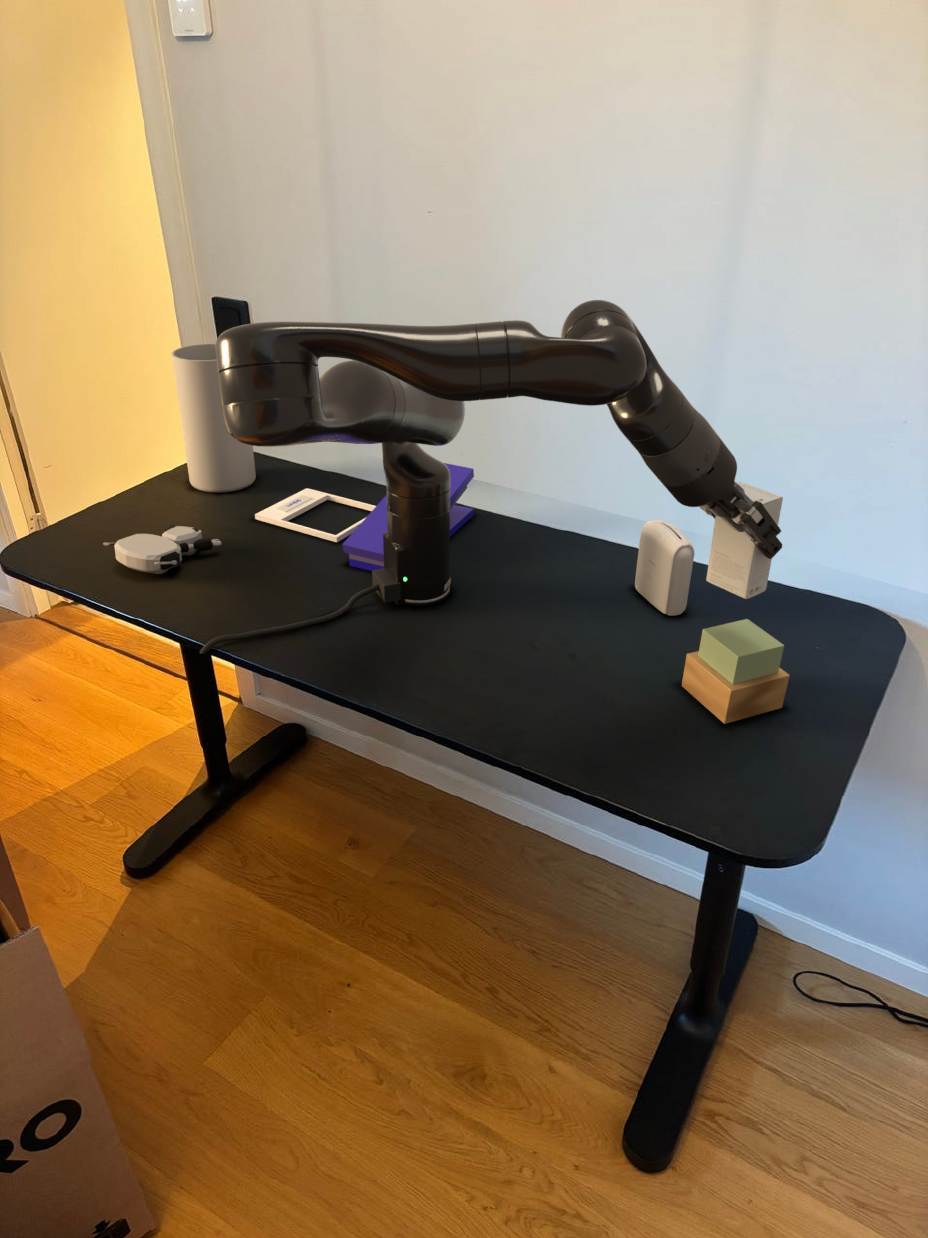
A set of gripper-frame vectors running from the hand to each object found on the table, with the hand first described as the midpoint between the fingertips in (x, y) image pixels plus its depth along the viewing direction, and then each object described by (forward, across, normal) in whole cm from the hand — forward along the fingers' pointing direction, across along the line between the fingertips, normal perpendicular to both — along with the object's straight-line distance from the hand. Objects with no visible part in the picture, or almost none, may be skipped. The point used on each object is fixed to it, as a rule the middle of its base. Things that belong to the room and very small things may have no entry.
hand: (754, 538), depth 106 cm
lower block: (+16, +1, -15) cm, 22 cm away
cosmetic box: (+3, 0, -6) cm, 6 cm away
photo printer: (+20, -24, -11) cm, 33 cm away
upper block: (+13, +1, -12) cm, 17 cm away
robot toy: (-27, -65, -59) cm, 92 cm away
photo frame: (-7, -73, -39) cm, 83 cm away
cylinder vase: (-16, -96, -49) cm, 109 cm away
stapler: (+1, -58, -31) cm, 66 cm away
